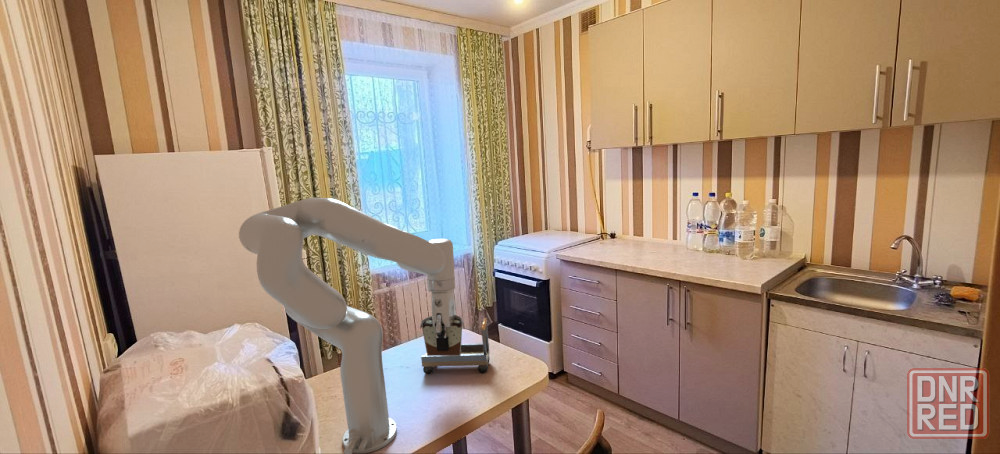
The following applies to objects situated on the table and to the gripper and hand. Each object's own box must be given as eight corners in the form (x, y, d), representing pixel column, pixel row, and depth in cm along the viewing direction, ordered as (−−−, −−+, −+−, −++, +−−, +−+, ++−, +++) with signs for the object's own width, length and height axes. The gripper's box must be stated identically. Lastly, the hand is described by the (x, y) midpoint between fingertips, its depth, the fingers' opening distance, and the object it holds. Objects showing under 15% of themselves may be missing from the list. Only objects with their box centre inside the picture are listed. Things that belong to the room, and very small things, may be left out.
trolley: (488, 374, 128) (484, 327, 126) (423, 375, 130) (418, 329, 127) (490, 361, 136) (487, 317, 134) (429, 362, 138) (424, 319, 135)
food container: (469, 346, 123) (467, 313, 121) (465, 355, 117) (463, 321, 115) (427, 346, 124) (425, 313, 122) (421, 355, 118) (419, 321, 116)
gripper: (449, 293, 108) (452, 360, 111) (459, 275, 125) (463, 334, 128) (420, 293, 109) (424, 360, 111) (434, 275, 125) (438, 334, 128)
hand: (445, 345), depth 119 cm, fingers closed on food container, 5 cm apart
